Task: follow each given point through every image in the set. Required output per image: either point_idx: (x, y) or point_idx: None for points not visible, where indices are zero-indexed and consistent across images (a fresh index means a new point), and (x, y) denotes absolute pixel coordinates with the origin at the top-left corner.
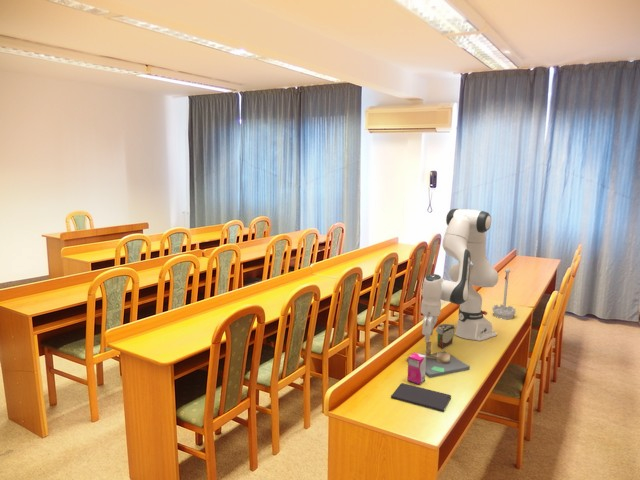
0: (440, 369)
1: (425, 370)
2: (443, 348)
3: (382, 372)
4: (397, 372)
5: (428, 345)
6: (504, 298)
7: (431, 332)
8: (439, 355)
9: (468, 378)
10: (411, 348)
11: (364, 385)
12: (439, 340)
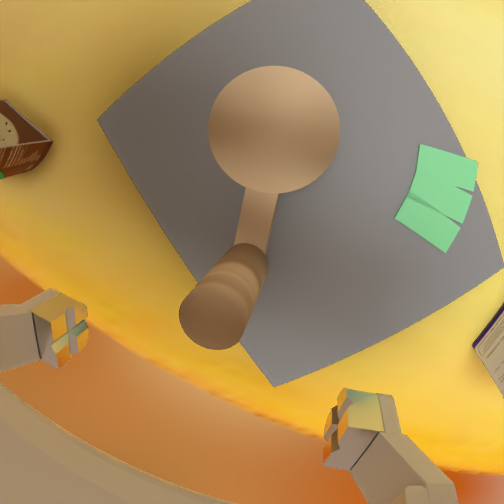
0: (444, 179)
1: (456, 289)
2: (46, 136)
3: None
4: (419, 413)
5: (249, 315)
6: None
7: (58, 328)
8: (291, 169)
9: (459, 14)
10: (94, 321)
11: (485, 473)
12: (9, 166)
